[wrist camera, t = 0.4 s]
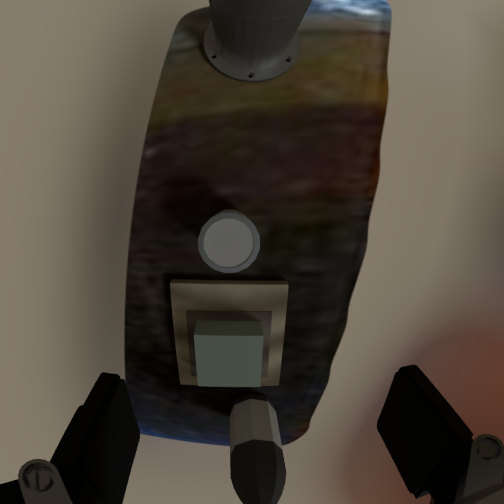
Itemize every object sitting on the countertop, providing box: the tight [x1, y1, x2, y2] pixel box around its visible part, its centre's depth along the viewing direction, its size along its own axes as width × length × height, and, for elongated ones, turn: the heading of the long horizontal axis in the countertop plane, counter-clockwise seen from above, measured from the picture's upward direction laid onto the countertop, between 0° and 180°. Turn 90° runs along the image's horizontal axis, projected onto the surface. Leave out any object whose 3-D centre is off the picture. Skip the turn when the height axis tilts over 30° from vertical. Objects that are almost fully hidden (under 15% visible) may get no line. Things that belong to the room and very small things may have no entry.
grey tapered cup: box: [198, 209, 260, 273], centre depth 36 cm, size 7×7×7 cm
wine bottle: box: [230, 393, 286, 504], centre depth 34 cm, size 8×8×30 cm
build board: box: [170, 279, 288, 386], centre depth 43 cm, size 18×16×2 cm
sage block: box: [194, 320, 264, 387], centre depth 41 cm, size 9×9×4 cm
